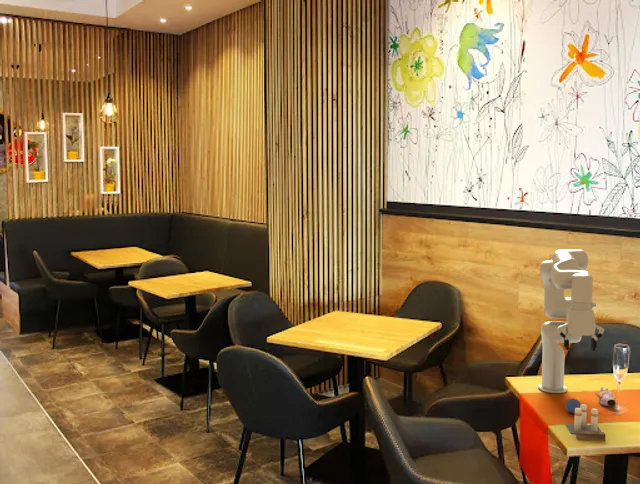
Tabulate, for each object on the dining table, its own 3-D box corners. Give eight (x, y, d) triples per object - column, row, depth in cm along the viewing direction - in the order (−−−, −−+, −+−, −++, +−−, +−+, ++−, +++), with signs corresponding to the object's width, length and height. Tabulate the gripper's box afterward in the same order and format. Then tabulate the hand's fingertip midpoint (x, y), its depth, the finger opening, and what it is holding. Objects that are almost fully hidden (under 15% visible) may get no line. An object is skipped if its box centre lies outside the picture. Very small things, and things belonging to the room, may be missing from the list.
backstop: (575, 437, 244) (576, 431, 244) (603, 438, 243) (604, 432, 243) (577, 439, 242) (577, 433, 242) (605, 440, 241) (605, 434, 241)
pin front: (578, 426, 255) (579, 404, 254) (585, 426, 255) (586, 404, 254) (580, 428, 252) (581, 406, 251) (587, 428, 252) (587, 406, 251)
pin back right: (573, 430, 251) (574, 407, 250) (580, 430, 251) (580, 408, 250) (575, 432, 249) (575, 410, 248) (581, 433, 248) (582, 410, 247)
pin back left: (589, 430, 250) (590, 408, 249) (596, 431, 250) (597, 408, 249) (591, 433, 248) (592, 410, 247) (598, 433, 247) (599, 410, 246)
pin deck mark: (565, 424, 257) (565, 424, 257) (597, 425, 255) (597, 425, 255) (570, 433, 248) (570, 433, 248) (603, 434, 246) (603, 434, 246)
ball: (563, 410, 272) (564, 396, 271) (578, 410, 271) (579, 396, 271) (567, 415, 266) (567, 401, 266) (582, 415, 265) (582, 401, 265)
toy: (614, 386, 285) (625, 399, 270) (612, 399, 286) (622, 413, 271) (592, 383, 286) (601, 396, 271) (590, 395, 287) (599, 409, 272)
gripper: (602, 304, 251) (600, 347, 253) (555, 303, 253) (554, 346, 255) (608, 308, 244) (606, 352, 245) (560, 307, 246) (558, 351, 248)
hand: (579, 349), depth 250 cm, fingers open, 9 cm apart
